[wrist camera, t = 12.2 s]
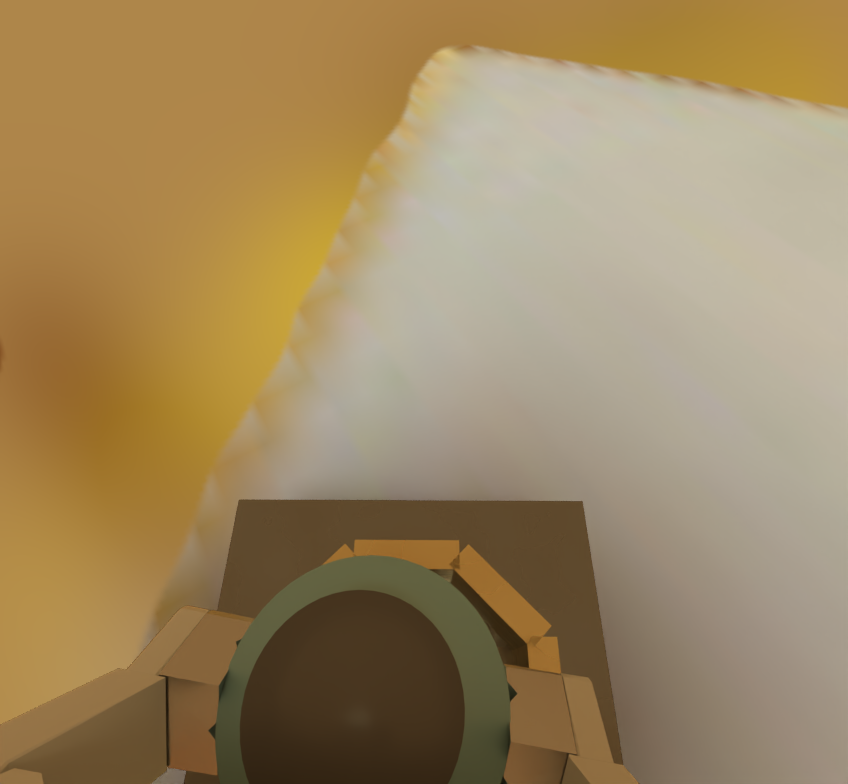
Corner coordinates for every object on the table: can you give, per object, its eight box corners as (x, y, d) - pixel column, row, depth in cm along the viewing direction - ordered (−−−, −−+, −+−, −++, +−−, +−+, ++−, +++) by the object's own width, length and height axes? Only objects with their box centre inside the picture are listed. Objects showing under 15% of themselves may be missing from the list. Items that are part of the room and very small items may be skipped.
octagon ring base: (588, 910, 17) (713, 1076, 10) (227, 907, 17) (78, 1070, 10) (547, 544, 23) (604, 475, 16) (280, 542, 23) (213, 473, 16)
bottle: (476, 805, 12) (550, 957, 5) (291, 805, 12) (125, 956, 5) (469, 607, 14) (513, 532, 8) (312, 607, 14) (213, 531, 8)
